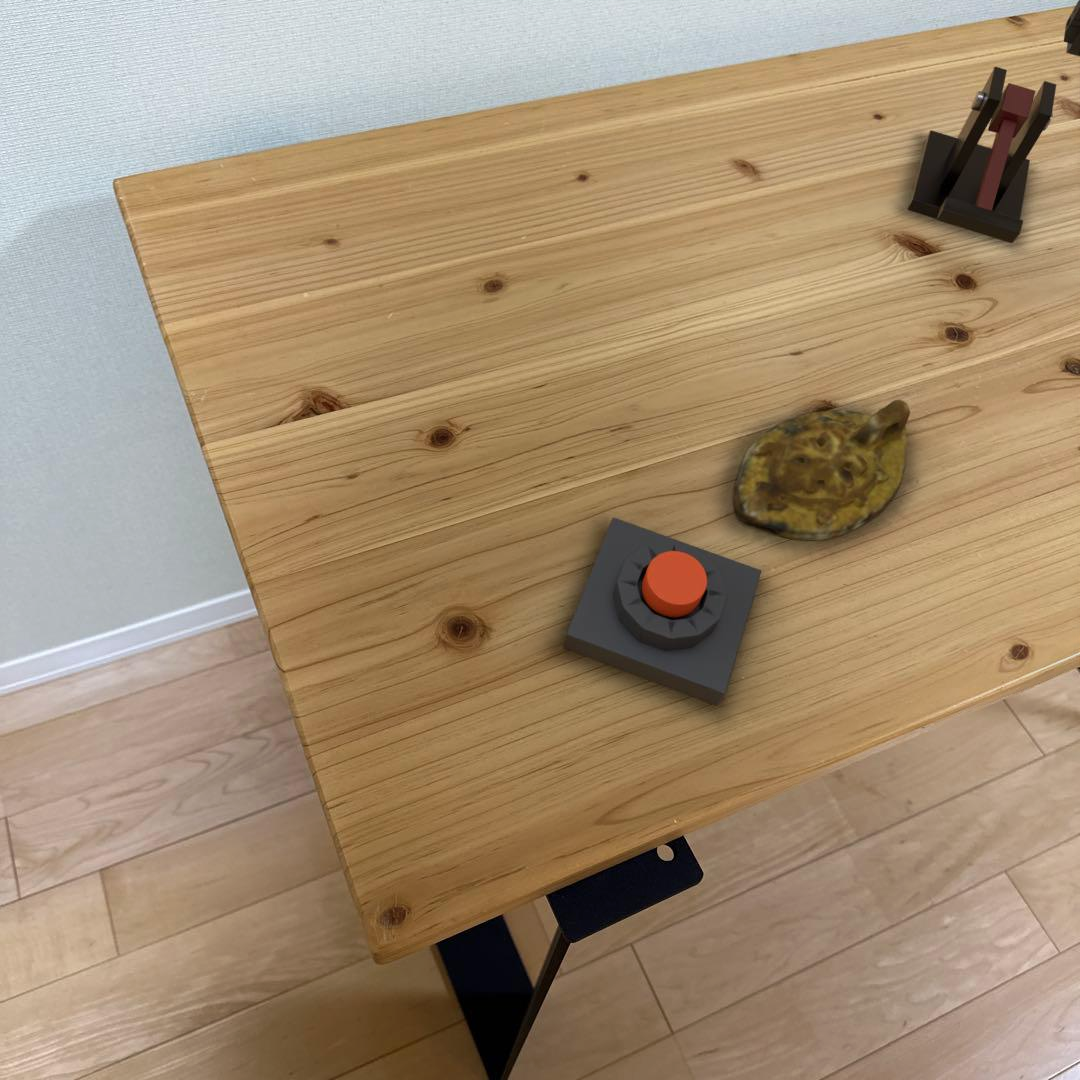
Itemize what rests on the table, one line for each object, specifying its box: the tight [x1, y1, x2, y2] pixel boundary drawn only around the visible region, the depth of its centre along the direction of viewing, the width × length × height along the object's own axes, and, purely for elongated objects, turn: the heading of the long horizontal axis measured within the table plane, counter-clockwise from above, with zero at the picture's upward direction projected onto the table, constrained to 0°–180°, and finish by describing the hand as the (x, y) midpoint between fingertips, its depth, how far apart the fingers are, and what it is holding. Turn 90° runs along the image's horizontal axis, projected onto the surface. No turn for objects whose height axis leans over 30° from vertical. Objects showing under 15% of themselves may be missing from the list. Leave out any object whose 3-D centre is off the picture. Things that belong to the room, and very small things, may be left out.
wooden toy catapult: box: [907, 66, 1057, 220], centre depth 81 cm, size 10×9×10 cm
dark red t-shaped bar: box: [936, 82, 1036, 244], centre depth 77 cm, size 13×6×2 cm, turn 160°
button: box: [642, 551, 707, 617], centre depth 58 cm, size 4×4×2 cm
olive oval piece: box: [733, 398, 911, 541], centre depth 67 cm, size 9×5×15 cm
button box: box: [562, 517, 762, 707], centre depth 60 cm, size 10×9×4 cm
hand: (1078, 49), depth 64 cm, fingers closed
